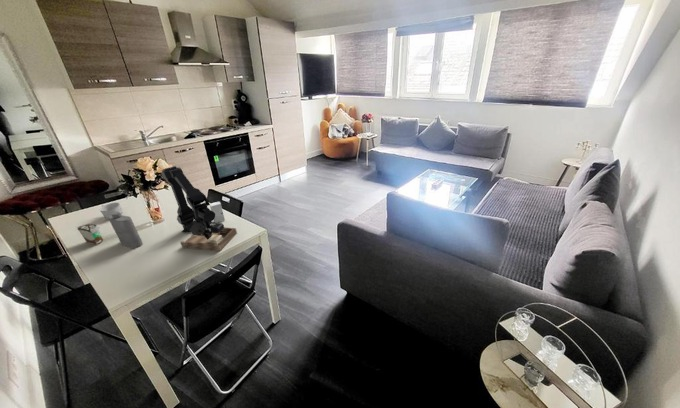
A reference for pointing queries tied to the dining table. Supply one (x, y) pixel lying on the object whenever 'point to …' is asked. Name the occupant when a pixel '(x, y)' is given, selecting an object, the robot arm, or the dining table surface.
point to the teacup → (110, 209)
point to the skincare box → (217, 212)
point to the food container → (91, 233)
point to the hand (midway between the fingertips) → (209, 240)
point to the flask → (125, 230)
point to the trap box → (203, 243)
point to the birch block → (215, 239)
